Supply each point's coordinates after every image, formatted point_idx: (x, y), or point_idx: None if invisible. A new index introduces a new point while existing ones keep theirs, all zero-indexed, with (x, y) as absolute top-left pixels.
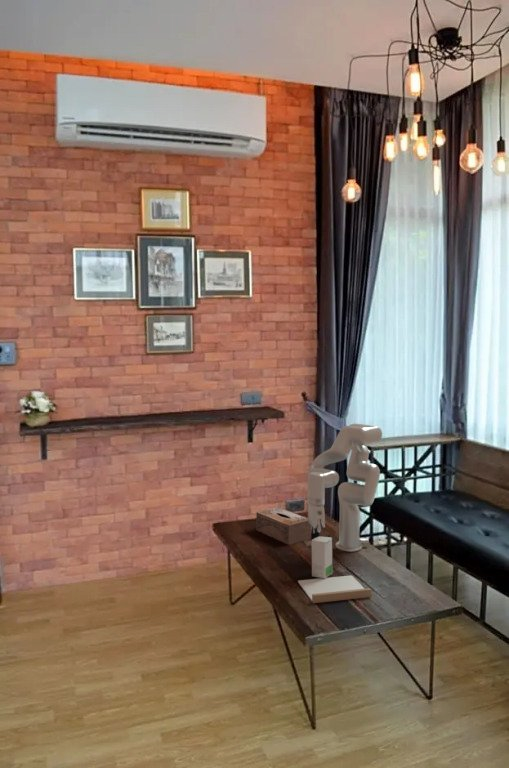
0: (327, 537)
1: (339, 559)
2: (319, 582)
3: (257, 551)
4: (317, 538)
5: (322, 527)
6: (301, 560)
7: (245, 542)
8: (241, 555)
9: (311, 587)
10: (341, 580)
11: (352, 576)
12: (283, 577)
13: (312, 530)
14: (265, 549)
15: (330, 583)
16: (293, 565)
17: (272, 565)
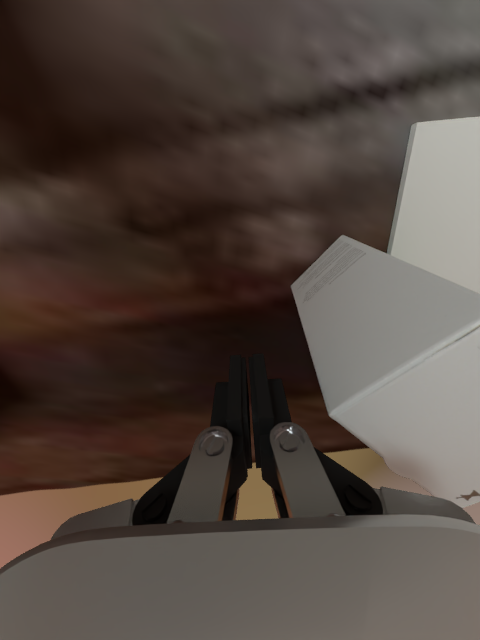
0: (461, 362)
1: (146, 116)
2: None
3: (83, 447)
4: (438, 465)
5: (409, 523)
6: (163, 332)
7: (6, 465)
8: (124, 482)
9: None
10: (446, 215)
11: (433, 124)
12: (309, 414)
13: (237, 494)
14: (59, 426)
15: (447, 279)
16: (213, 369)
17: (207, 426)
